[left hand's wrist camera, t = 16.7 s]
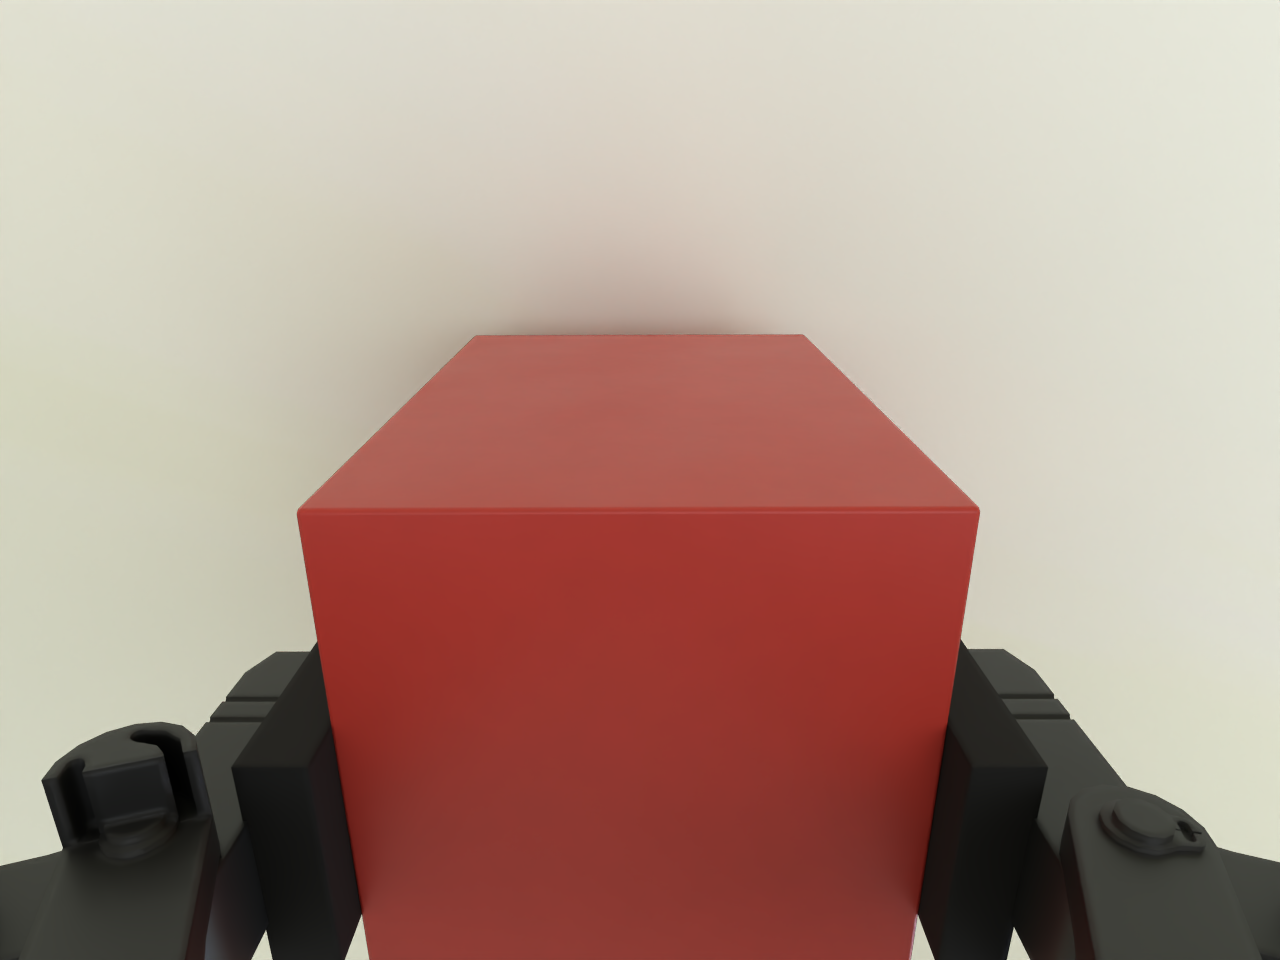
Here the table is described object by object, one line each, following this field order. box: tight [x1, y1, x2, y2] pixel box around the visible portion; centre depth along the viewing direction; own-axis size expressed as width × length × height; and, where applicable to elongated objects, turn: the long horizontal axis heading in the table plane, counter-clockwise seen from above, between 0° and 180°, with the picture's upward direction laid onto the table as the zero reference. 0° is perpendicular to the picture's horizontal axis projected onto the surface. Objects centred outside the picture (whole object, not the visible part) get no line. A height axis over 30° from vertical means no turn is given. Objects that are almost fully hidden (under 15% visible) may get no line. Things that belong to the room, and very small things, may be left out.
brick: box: [297, 335, 980, 960], centre depth 13 cm, size 8×7×9 cm
